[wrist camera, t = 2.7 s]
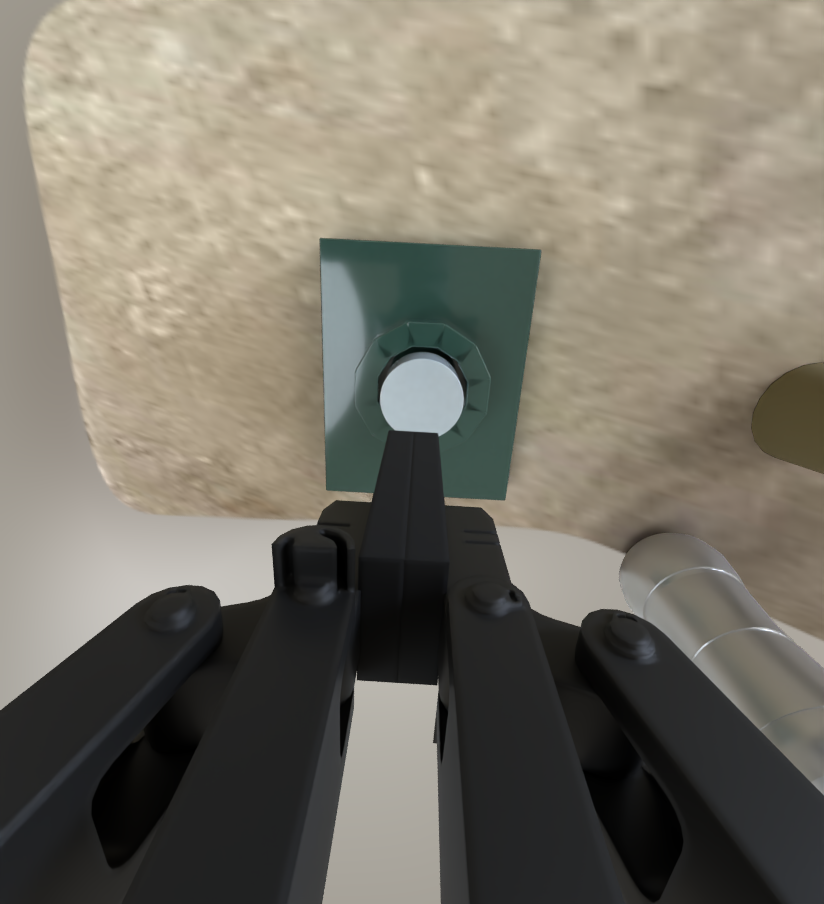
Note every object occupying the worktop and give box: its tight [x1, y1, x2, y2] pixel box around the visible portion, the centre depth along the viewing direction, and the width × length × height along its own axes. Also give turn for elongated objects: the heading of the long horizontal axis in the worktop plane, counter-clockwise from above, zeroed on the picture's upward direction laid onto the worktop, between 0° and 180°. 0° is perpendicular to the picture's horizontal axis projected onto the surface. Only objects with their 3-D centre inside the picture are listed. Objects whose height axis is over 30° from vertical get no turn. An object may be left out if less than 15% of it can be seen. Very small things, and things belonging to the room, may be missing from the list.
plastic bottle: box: [619, 533, 824, 795], centre depth 21 cm, size 6×7×20 cm
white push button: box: [380, 352, 464, 436], centre depth 22 cm, size 4×4×2 cm
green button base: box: [319, 238, 541, 500], centre depth 24 cm, size 14×11×4 cm
